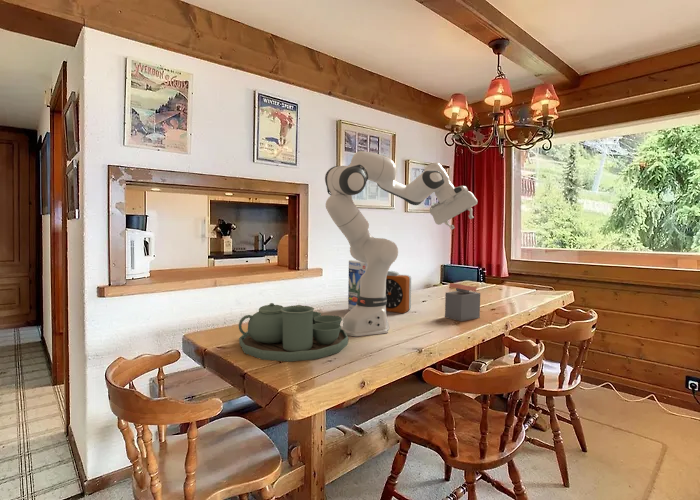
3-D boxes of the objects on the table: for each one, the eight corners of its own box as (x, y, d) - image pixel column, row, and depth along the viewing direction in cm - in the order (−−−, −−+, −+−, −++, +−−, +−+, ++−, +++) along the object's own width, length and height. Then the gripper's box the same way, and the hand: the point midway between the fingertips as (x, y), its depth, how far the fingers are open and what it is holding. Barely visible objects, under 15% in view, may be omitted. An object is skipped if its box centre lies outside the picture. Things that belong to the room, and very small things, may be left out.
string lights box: (347, 309, 213) (347, 260, 212) (358, 307, 218) (358, 259, 217) (365, 314, 204) (365, 262, 202) (376, 311, 209) (376, 261, 207)
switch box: (461, 321, 189) (461, 295, 189) (445, 317, 198) (445, 292, 197) (479, 317, 197) (480, 293, 196) (463, 313, 205) (464, 290, 204)
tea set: (369, 345, 154) (369, 301, 152) (280, 372, 126) (279, 319, 125) (303, 325, 182) (303, 288, 181) (219, 344, 154) (218, 300, 153)
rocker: (460, 291, 190) (461, 284, 190) (448, 289, 196) (450, 282, 196) (475, 294, 196) (476, 287, 196) (464, 292, 202) (465, 285, 202)
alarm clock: (371, 309, 213) (372, 270, 212) (378, 306, 221) (379, 268, 220) (405, 313, 205) (406, 272, 203) (411, 310, 212) (411, 271, 211)
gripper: (425, 208, 185) (439, 235, 182) (466, 183, 175) (481, 212, 173) (430, 208, 190) (443, 234, 187) (469, 185, 181) (484, 212, 178)
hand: (462, 223), depth 180 cm, fingers open, 8 cm apart
